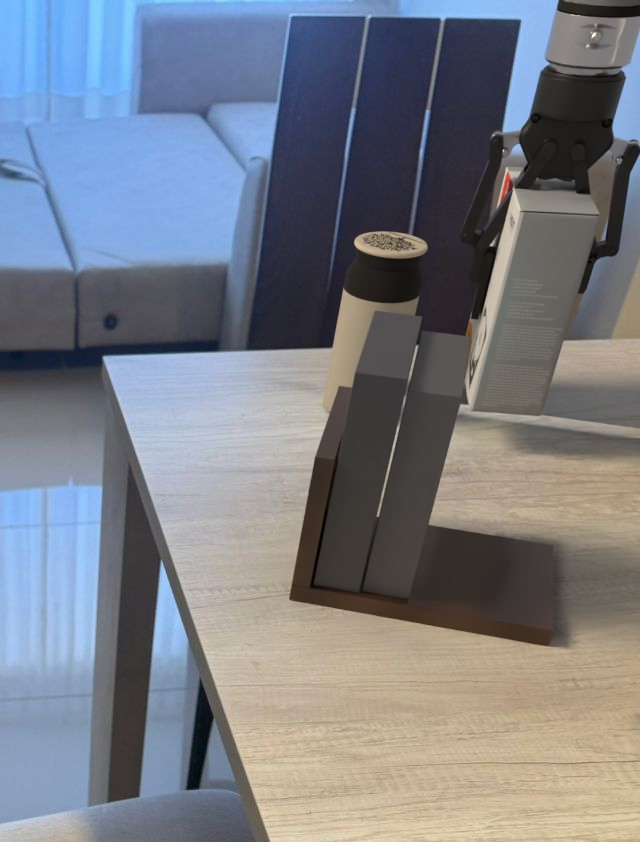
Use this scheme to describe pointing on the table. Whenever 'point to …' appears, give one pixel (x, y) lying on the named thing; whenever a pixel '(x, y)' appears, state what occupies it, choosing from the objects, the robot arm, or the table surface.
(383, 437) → the grey books
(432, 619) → the book rack
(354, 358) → the travel mug
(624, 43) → the robot arm
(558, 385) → the table surface
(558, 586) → the table surface
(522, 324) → the hard drive box
